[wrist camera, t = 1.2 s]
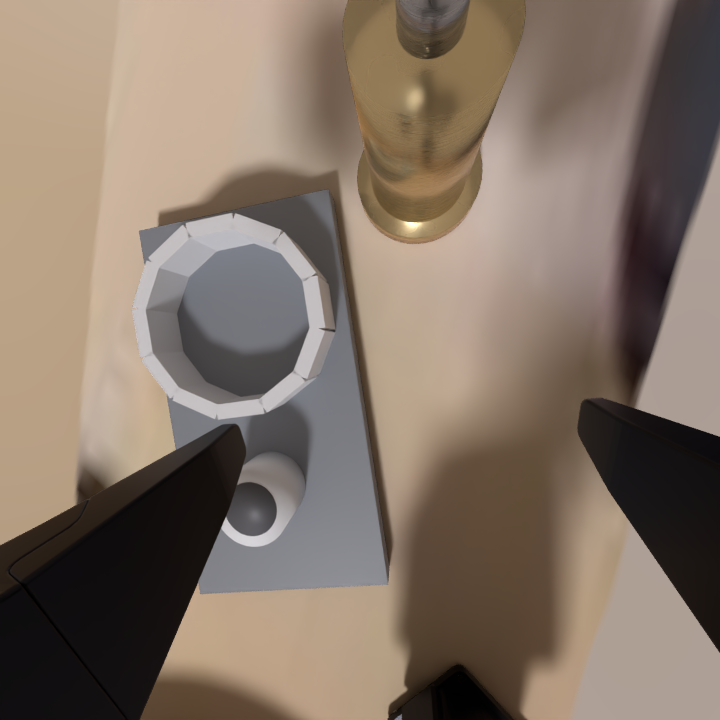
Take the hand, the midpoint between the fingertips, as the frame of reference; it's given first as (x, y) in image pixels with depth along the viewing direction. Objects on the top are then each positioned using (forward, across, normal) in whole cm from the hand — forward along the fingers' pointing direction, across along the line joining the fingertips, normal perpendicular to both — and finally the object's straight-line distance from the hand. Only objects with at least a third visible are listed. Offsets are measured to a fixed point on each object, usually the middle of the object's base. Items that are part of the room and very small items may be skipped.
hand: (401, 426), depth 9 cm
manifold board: (+11, +8, +5) cm, 14 cm away
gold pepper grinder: (+15, -2, -7) cm, 16 cm away
